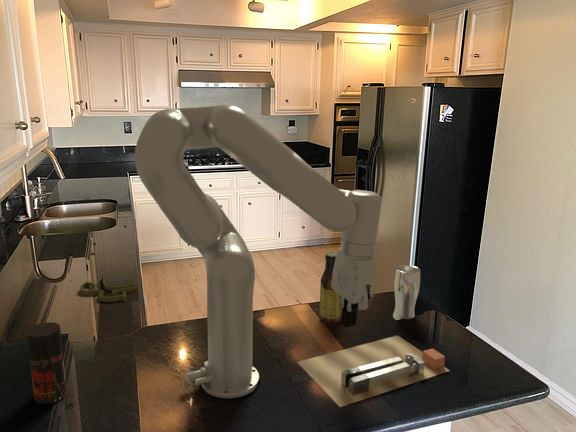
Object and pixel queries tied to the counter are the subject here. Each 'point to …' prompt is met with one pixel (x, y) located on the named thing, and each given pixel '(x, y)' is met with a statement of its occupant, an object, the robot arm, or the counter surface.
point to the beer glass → (406, 291)
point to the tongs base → (386, 375)
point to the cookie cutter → (117, 291)
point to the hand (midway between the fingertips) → (347, 324)
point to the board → (331, 365)
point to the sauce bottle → (329, 293)
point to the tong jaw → (368, 369)
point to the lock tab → (433, 358)
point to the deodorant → (46, 361)
